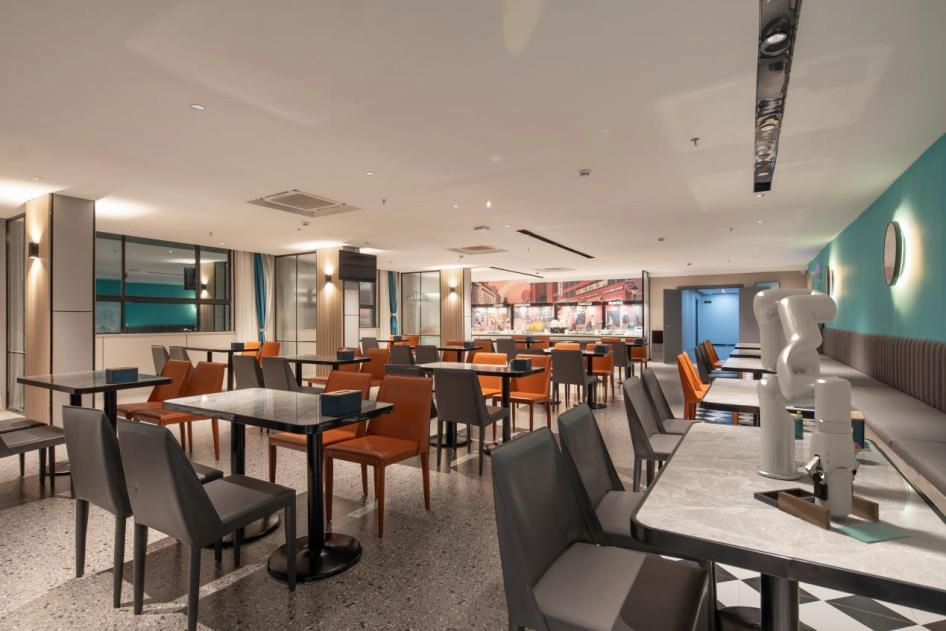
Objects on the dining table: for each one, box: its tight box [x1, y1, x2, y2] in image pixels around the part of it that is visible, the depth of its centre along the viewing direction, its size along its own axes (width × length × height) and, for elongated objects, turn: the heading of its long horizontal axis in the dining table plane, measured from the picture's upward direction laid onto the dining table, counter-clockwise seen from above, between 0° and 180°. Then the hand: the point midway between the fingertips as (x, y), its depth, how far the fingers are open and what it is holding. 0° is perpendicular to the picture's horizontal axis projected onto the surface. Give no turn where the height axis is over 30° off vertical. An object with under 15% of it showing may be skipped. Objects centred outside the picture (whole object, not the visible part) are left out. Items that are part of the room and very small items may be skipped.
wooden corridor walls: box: [778, 492, 880, 531], centre depth 126 cm, size 17×13×4 cm
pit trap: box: [753, 487, 815, 509], centre depth 136 cm, size 16×8×2 cm, turn 105°
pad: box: [833, 522, 910, 544], centre depth 115 cm, size 13×8×1 cm, turn 105°
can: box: [814, 467, 853, 518], centre depth 124 cm, size 8×8×12 cm
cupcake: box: [851, 426, 862, 459], centre depth 176 cm, size 9×8×12 cm
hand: (833, 496), depth 124 cm, fingers closed on can, 7 cm apart
